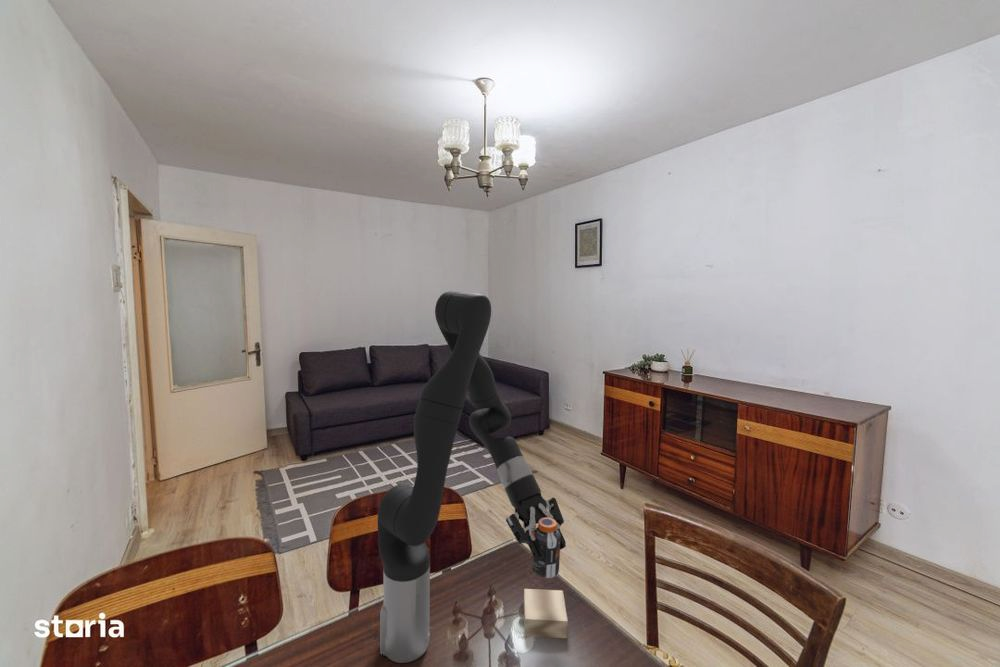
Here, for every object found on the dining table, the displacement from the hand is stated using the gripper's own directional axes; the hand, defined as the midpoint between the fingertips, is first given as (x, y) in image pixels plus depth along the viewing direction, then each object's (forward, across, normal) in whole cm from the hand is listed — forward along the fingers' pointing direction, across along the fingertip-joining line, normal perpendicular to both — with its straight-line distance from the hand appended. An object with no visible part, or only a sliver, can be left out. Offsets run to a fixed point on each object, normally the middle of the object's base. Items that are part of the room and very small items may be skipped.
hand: (552, 553), depth 90 cm
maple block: (+11, 0, +13) cm, 17 cm away
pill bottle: (+2, 0, +5) cm, 5 cm away
